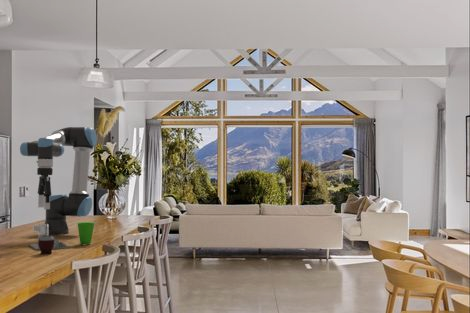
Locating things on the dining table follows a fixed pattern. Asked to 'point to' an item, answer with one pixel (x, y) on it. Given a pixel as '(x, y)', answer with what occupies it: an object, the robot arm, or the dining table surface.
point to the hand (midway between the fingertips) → (43, 208)
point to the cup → (85, 232)
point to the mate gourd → (46, 243)
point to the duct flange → (56, 246)
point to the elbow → (41, 230)
